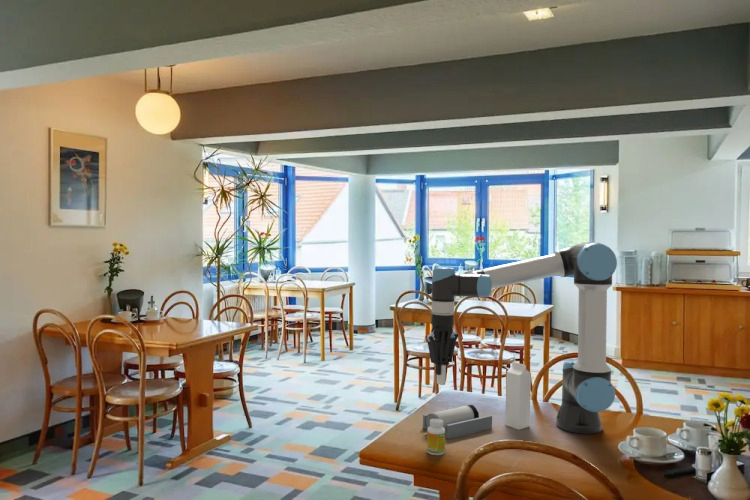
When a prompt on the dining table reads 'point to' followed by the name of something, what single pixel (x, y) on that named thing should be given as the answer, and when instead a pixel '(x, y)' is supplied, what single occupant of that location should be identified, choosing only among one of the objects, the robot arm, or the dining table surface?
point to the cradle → (465, 426)
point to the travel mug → (453, 415)
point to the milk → (518, 396)
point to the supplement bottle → (436, 437)
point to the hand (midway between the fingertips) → (440, 383)
